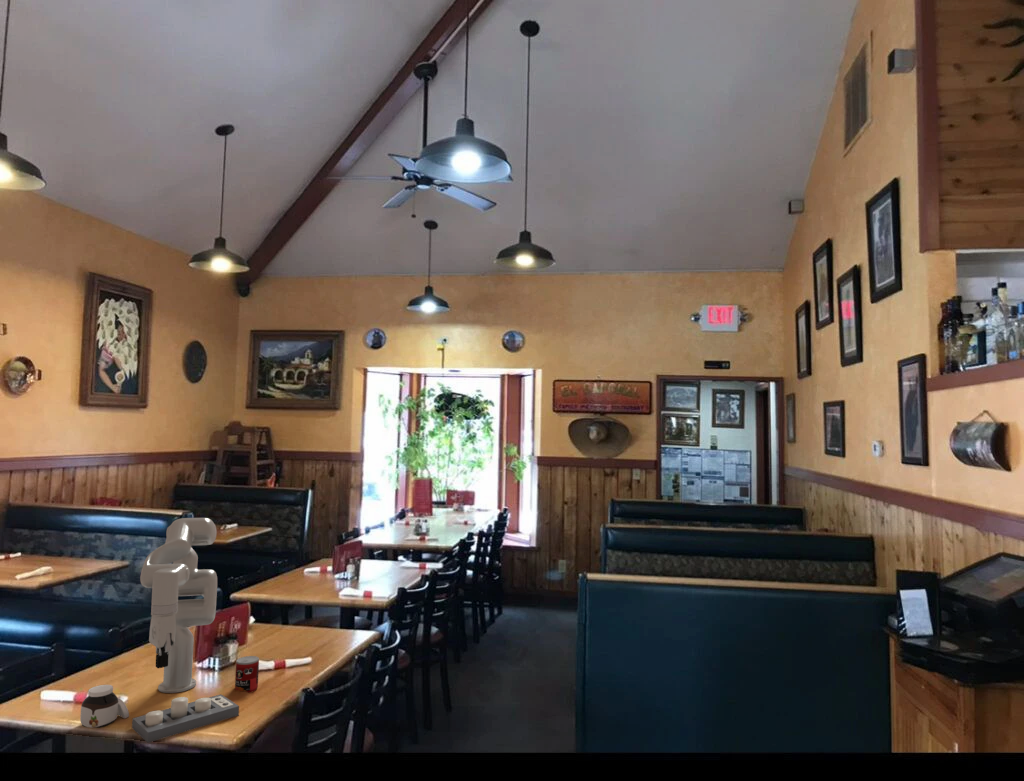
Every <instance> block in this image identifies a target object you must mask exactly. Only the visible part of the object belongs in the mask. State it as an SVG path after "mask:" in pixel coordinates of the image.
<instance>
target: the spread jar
mask: <svg viewBox="0 0 1024 781" xmlns="http://www.w3.org/2000/svg"><path fill="white" fill-rule="evenodd" d="M113 691H114V686H113V685H111V684H101V685H96V686H93V687H91V688H89V689H88V691H87V692H88V694H87V695H88V696H87V697H85V698H84V700H83V701H82V703H81V706H80V714H79V716H80V723H81V726H83V727H85V728H90V729H91V728H92V729H93V728H94V729H101V728H104V727H107V726H109V725H112V724H113V723H114V722H115V721H116V719H117V718H118V717H121V718H123V719H125V720H126V719H127V718H129V717H130V714H129V713H130V712H129V709H128V707H127V705H126V703H125V702H124V701H123V700H122V699H121V698H119V697H118V696H117V695H116V693H114V692H113Z"/></svg>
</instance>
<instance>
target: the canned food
mask: <svg viewBox="0 0 1024 781" xmlns="http://www.w3.org/2000/svg"><path fill="white" fill-rule="evenodd" d="M259 665H260V658H259V656H256V655H248V656H247V655H246V656H242V657H239V658H237V659H236V661H235V680H234V682H235V684H234V690H235V691H238V692H246V693H253V692H255V691H257V690H258V687H259V673H260V672H259V667H260V666H259Z"/></svg>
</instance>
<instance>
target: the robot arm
mask: <svg viewBox="0 0 1024 781" xmlns="http://www.w3.org/2000/svg"><path fill="white" fill-rule="evenodd" d="M217 530H218V529H217V526H216V524H215V523H214V521H213V520H212V519H210V518H209V517H183V518H177V519H175V520H174V521H172V523H171V524H170V525H169V526H168V527H166V534H165V535H166V539H165V543H164V544H162V545H161V546H160V545H159V547H157V548H155V549H154V550H153V551H151V552H150V553H149V554H148V555H147V556H146V558H145V560H144V563H143V565H142V567H141V572H140V578H139V579H140V580H139V581H140V584H141V586H142V587H144V588H147V589H152V590H151V606H150V607H151V609H150V610H151V612H150V616H151V617H150V624H149V625H150V626H149V634H148V635H149V637H148V641H149V643H150V644H151V645H153V646H154V647H155V668H157V669H161V668H163V678H162V680H163V681H162V682H161V683H160V684H158V688H157V689H158V691H159V692H161V693H164V694H165V693H166V694H176V693H182V692H185V691H189V690H191V689H193V688H195V687H196V685H197V680H196V679H195V678H193V664H194V662H193V659H194V644H195V642H194V640H195V638H194V635H193V632H192V631H191V630H190V629H189V627H195V626H207V625H211V624H212V623H213V622H214V620H215V618H216V611H217V598H218V596H217V595H218V594H217V593H218V576H217V575H218V574H217V572H216V571H215V570H214V569H208V568H207V569H205V568H203V569H198V562H199V560H198V559H199V557H198V553H197V552H196V551H195V549H193V546H209V545H213V543H214V542H216V538H217V533H218V532H217ZM190 596H191V597H193V596H202V597H203V598H196V599H191V598H190V599H179V597H190Z"/></svg>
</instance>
